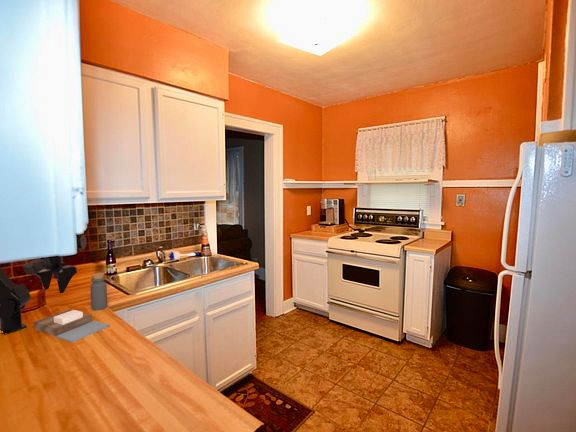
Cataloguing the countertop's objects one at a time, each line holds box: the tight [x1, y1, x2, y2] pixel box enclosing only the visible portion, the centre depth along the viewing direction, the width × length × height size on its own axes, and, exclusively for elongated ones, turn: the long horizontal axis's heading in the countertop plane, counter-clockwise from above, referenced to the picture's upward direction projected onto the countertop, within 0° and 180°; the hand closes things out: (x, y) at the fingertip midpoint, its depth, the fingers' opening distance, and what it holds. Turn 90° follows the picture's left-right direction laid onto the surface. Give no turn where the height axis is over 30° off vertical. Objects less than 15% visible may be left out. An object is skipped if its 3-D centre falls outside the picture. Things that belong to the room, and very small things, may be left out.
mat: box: [56, 320, 110, 343], centre depth 106 cm, size 8×13×1 cm, turn 158°
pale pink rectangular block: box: [54, 309, 84, 325], centre depth 108 cm, size 5×7×2 cm
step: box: [33, 309, 93, 337], centre depth 110 cm, size 14×12×3 cm
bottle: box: [89, 272, 108, 311], centre depth 127 cm, size 6×6×15 cm
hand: (54, 291), depth 110 cm, fingers open, 9 cm apart
